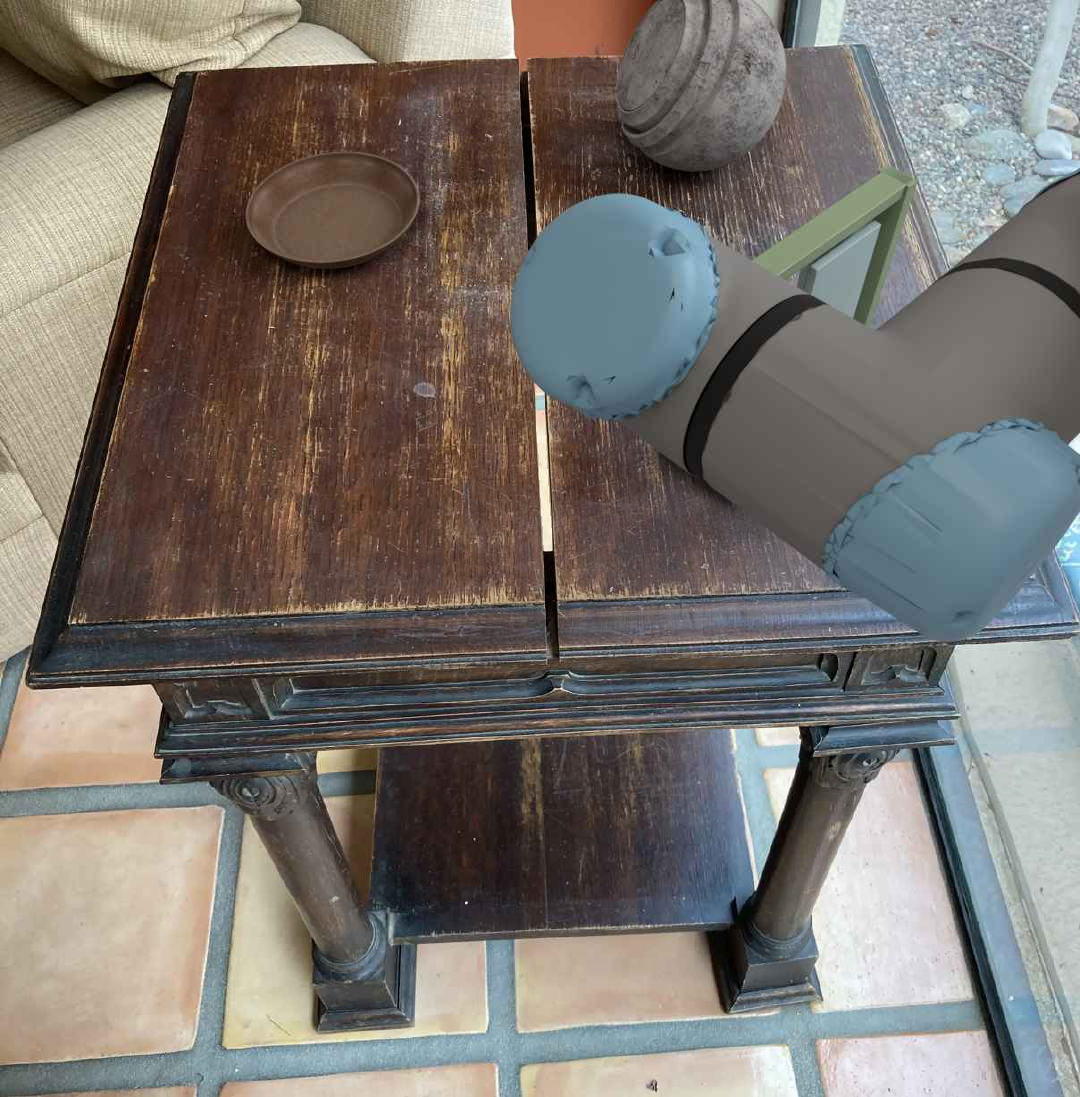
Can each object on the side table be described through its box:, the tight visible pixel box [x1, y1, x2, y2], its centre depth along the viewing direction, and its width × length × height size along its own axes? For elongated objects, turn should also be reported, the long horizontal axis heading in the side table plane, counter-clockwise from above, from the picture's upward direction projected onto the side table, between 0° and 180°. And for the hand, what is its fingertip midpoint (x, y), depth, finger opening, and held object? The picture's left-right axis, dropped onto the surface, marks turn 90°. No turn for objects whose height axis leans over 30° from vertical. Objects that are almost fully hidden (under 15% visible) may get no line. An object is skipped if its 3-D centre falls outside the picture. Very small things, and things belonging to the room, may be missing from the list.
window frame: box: [751, 164, 918, 328], centre depth 71 cm, size 6×17×16 cm, turn 132°
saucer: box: [245, 151, 421, 270], centre depth 90 cm, size 15×15×3 cm
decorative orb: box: [615, 0, 787, 172], centre depth 91 cm, size 15×14×15 cm
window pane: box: [804, 221, 881, 318], centre depth 70 cm, size 10×7×13 cm, turn 42°
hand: (881, 425), depth 68 cm, fingers closed
